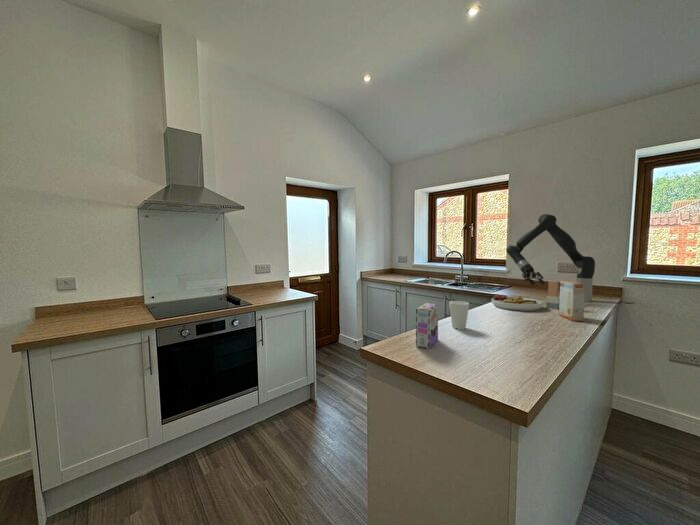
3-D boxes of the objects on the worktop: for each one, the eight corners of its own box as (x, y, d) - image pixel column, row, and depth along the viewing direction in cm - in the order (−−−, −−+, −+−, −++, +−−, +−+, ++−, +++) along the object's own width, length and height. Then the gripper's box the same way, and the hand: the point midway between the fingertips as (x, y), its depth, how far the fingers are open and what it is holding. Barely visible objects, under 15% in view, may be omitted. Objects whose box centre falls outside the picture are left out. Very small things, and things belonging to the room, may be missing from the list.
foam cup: (448, 329, 145) (448, 303, 144) (449, 324, 153) (449, 300, 153) (469, 331, 141) (469, 305, 140) (468, 326, 150) (469, 301, 149)
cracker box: (584, 321, 156) (585, 283, 155) (571, 321, 157) (572, 283, 156) (570, 315, 170) (571, 280, 169) (558, 315, 171) (559, 280, 170)
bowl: (546, 306, 196) (546, 295, 196) (537, 314, 174) (537, 301, 174) (498, 301, 217) (499, 291, 216) (485, 307, 195) (485, 296, 194)
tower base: (549, 306, 195) (549, 301, 195) (559, 308, 191) (559, 302, 191) (546, 308, 191) (546, 302, 191) (557, 309, 187) (557, 303, 187)
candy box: (429, 349, 117) (429, 309, 116) (415, 346, 120) (415, 308, 119) (438, 340, 128) (438, 303, 128) (425, 337, 132) (425, 302, 131)
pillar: (550, 295, 194) (550, 280, 193) (558, 296, 190) (558, 281, 190) (548, 296, 191) (548, 281, 190) (556, 297, 188) (556, 281, 187)
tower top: (549, 301, 195) (549, 295, 195) (559, 302, 191) (560, 296, 190) (546, 302, 191) (546, 296, 191) (557, 303, 187) (557, 297, 186)
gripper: (520, 263, 207) (534, 281, 196) (536, 263, 210) (550, 280, 200) (514, 270, 212) (527, 288, 202) (529, 270, 216) (543, 287, 205)
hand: (538, 284), depth 201 cm, fingers open, 8 cm apart
